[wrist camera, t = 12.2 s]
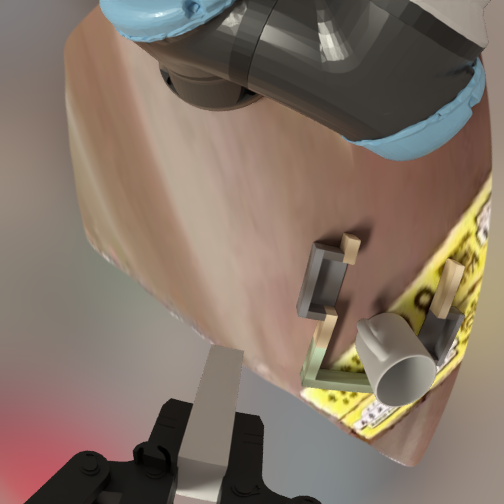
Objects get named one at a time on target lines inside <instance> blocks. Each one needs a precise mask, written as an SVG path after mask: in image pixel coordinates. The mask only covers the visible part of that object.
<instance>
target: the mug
mask: <svg viewBox="0 0 504 504" xmlns="http://www.w3.org/2000/svg"><path fill="white" fill-rule="evenodd" d="M357 329H358V333H357V336H356V342H355V345H356V350H357V353H358V355H359V358H360V360H361V362H362V364H363V367H364V369H365V372H366V374H367V377H368V379H369V382H370V385H371V387H372V390H373V392H374V395H375V397H376V399H377V400H378V401H379V402H380V403H381V404H383V405H385V406H388V407H401V406H405V405H408V404H410V403H412V402H414V401H416V400H418V399H419V398H420V397H422V396H423V395H424V394H425V393H426V392H427V391H428V390H429V388H430V387H431V386H432V384H433V382H434V380H435V377H436V372H437V368H436V364H435V361H434V360H433V358H432V357H431V355H430V354H429V352H428V351H427V350H426V348H425V347H424V345H423V344H422V343H421V341H420V340H419V339H418V337H417V336H416V335H415V333H414V332H413V330H412V329H411V328H410V326H409V325H408V323H407V322H406V320H405V319H404V318H403V317H401V316H400V315H398V314H395V313H382V314H378V315H376V316H374V317H372V318H370V319H369V320H367V319H364V318H362V319H360V320H359V321H358V323H357Z"/></svg>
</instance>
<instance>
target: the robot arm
mask: <svg viewBox="0 0 504 504" xmlns="http://www.w3.org/2000/svg"><path fill="white" fill-rule="evenodd" d="M489 2H490V0H100V7H101V10H102V12H103V14H104V15H105V16H106V18H107V19H108V20H109V21H110V22H111V23H112V24H113V25H114V27H115V28H116V30H117V31H118V32H119V34H120V35H122V36H124V37H126V38H127V39H129V40H132V41H133V42H135V43H136V44H137V45H139V46H140V47H141V48H142V49H144V50H145V51H146V52H148V53H149V54H150V55H151V56H153V57H154V58H155V59H156V60H158V61H159V68H160V72H161V75H162V77H163V79H164V81H165V83H166V84H167V86H168V87H169V88H170V90H171V91H172V92H173V93H174V94H175V95H177V96H178V97H179V98H181V99H182V100H184V101H185V102H187V103H188V104H190V105H192V106H195V107H197V108H200V109H204V110H209V111H229V110H235V109H239V108H242V107H245V106H247V105H249V104H252V103H253V102H255V101H257V100H258V99H260V98H261V97H263V96H265V97H267V98H269V99H272V100H274V101H276V102H278V103H280V104H282V105H285V106H287V107H289V108H291V109H293V110H295V111H297V112H299V113H301V114H303V115H305V116H307V117H309V118H311V119H313V120H315V121H317V122H319V123H320V124H322V125H324V126H326V127H328V128H330V129H332V130H333V131H335V132H337V133H339V134H340V135H341V137H342V138H344V139H345V140H346V141H348V142H350V143H354V144H355V145H360V146H363V147H365V148H367V149H369V150H371V151H372V152H374V153H376V154H378V155H380V156H381V157H383V158H386V159H390V160H394V161H407V160H413V159H417V158H420V157H422V156H425V155H427V154H429V153H431V152H433V151H435V150H436V149H438V148H439V147H441V146H442V145H444V144H445V143H446V142H448V141H449V140H450V139H451V138H452V137H453V136H455V135H456V134H457V133H458V132H459V131H460V130H461V129H462V127H463V126H464V125H465V124H466V123H467V121H468V120H469V119H470V117H471V116H472V114H473V113H472V110H471V107H473V106H474V105H475V104H477V103H479V102H480V100H481V98H482V95H483V92H484V88H485V71H484V67H483V65H482V64H481V61H480V59H479V57H478V56H479V54H480V53H481V52H482V51H483V50H484V49H485V47H486V46H487V45H488V37H487V32H486V27H485V22H484V18H483V14H484V8H485V7H486V5H487V4H488V3H489ZM243 354H244V351H242V350H237V349H232V348H227V347H222V346H217V345H213V344H212V345H211V348H210V351H209V355H208V358H207V361H206V365H205V368H204V371H203V374H202V378H201V381H200V384H199V387H198V391H197V394H196V397H195V401H194V404H192V403H188V402H183V401H179V400H176V399H172V398H171V399H170V400H168V401H167V402H166V403H165V404H164V405H163V406H162V408H161V411H160V413H159V416H158V418H157V420H156V423H155V425H154V428H153V430H152V432H151V435H150V437H149V440H148V441H146V442H143V443H140V444H139V445H137V446H136V447H135V448H134V450H133V457H134V460H132V461H128V462H118V461H107V459H106V458H105V457H103V456H102V455H101V454H99V453H97V452H94V451H83V452H79V453H77V454H76V455H74V456H73V457H72V458H71V459H70V460H69V461H68V462H67V463H66V464H65V465H64V466H63V467H62V468H61V469H60V470H59V471H58V472H57V473H56V474H55V475H54V476H52V477H51V479H49V480H48V481H47V482H46V483H45V484H44V485H43V486H42V487H41V488H40V489H39V490H38V491H37V492H36V493H35V494H34V495H32V496H31V497H30V498H29V499H28V500H27V501H26V502H25V503H24V504H173V501H174V497H175V494H179V495H183V496H188V497H192V498H197V499H202V500H207V501H212V502H217V504H321V502H320V501H318V500H317V499H315V498H313V497H310V496H297V497H294V498H292V499H290V498H287V497H285V496H282V495H279V494H277V493H275V492H273V491H271V490H270V489H269V488H268V487H267V486H266V485H265V484H264V481H263V479H262V463H263V439H264V438H263V436H264V425H263V423H262V421H261V419H260V417H259V416H257V415H251V414H245V413H239V412H235V410H236V403H237V395H238V389H239V382H240V375H241V368H242V361H243Z"/></svg>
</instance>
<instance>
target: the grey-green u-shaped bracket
mask: <svg viewBox="0 0 504 504" xmlns="http://www.w3.org/2000/svg"><path fill="white" fill-rule="evenodd" d="M360 242H361V241H360V240H359V239H358V238H357V237H356V236H355V235H352V234H348V233H343V237H342V240H341V244H340V248H339V247H334V246H330V245H325V244H320V243H316V242H313V245H312V249H311V253H310V257H309V261H308V265H307V269H306V272H305V276H304V280H303V284H302V287H301V291H300V295H299V299H298V302H297V306H296V307H297V313H298V317H302V318H308V319H314V320H318V323H317V326H316V329H315V332H314V335H313V338H312V341H311V344H310V347H309V350H308V353H307V356H306V359H305V362H304V365H303V368H302V370H301V373H300V376H301V384H302V386H303V387H311V388H319V389H328V390H338V391H349V392H361V393H374V392H373V390H372V387H371V385H370V382H369V379H368V377H367V374H363V373H353V372H344V371H335V370H327V369H319V368H320V365H321V362H322V360H323V357H324V354H325V352H326V349H327V346H328V343H329V341H330V338H331V335H332V332H333V329H334V326H335V323H336V320H337V318H338V315H337V313H336V310H335V308H334V306H335V303H336V300H337V296H338V293H339V290H340V287H341V284H342V280H343V277H344V273H345V270H346V267H347V263H348V264H353V265H354V263H355V260H356V256H357V253H358V249H359V246H360ZM464 269H465V266H464V265H462V264H460V263H459V262H457V261H456V260H453V259H449V258H447V261H446V264H445V267H444V270H443V273H442V276H441V278H440V281H439V284H438V287H437V290H436V292H435V295H434V298H433V300H432V303H431V305H430V308H429V310H428V313H427V315H426V318H425V320H424V323H423V325H422V327H421V330H420V332H419V334H418V339H419V340H420V341H421V343H422V344H423V345H424V347H425V348H426V350H427V351H428V352H429V354H430V355H431V357H432V358H433V360H434V361H435V364H436V366H441V365H442V363H443V361H444V359H445V357H446V355H447V353H448V351H449V349H450V347H451V345H452V343H453V341H454V339H455V337H456V334H457V332H458V330H459V328H460V325H461V323H462V321H463V319H464V316H465V315H464V314H463V313H462V312H461V311H459V310H458V309H457V308H456V307H453V306H451V304H452V302H453V299H454V297H455V294H456V291H457V289H458V286H459V283H460V280H461V277H462V275H463V272H464Z"/></svg>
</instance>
